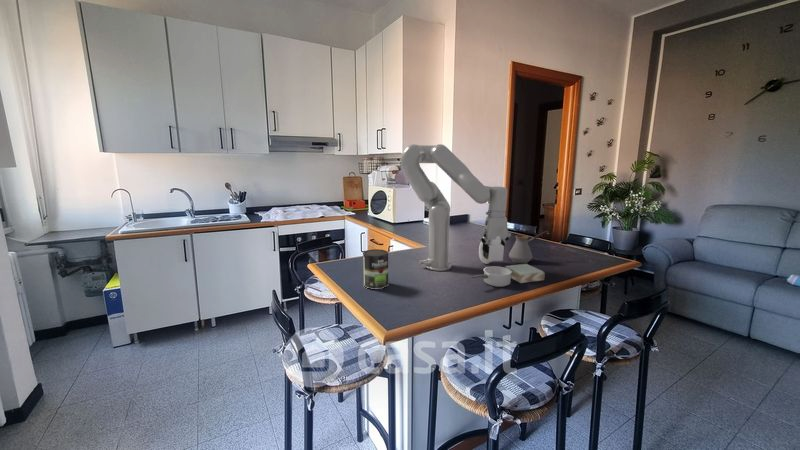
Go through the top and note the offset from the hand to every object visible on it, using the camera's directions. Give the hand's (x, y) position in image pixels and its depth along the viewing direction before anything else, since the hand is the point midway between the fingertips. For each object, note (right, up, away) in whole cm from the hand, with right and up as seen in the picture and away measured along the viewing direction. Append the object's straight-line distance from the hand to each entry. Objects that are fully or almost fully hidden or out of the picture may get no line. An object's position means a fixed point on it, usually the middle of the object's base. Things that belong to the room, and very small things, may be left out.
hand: (493, 251), depth 154 cm
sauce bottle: (0, -7, +12) cm, 14 cm away
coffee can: (-53, -13, -17) cm, 57 cm away
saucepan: (-6, -13, -17) cm, 22 cm away
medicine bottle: (0, -4, +1) cm, 4 cm away
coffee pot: (+23, -6, +16) cm, 29 cm away
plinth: (+11, -11, -8) cm, 17 cm away
